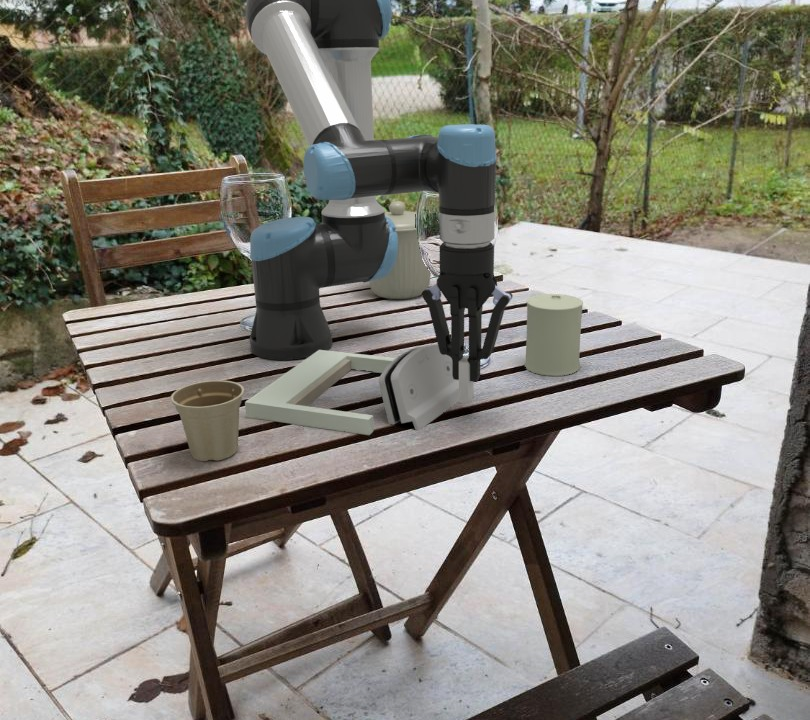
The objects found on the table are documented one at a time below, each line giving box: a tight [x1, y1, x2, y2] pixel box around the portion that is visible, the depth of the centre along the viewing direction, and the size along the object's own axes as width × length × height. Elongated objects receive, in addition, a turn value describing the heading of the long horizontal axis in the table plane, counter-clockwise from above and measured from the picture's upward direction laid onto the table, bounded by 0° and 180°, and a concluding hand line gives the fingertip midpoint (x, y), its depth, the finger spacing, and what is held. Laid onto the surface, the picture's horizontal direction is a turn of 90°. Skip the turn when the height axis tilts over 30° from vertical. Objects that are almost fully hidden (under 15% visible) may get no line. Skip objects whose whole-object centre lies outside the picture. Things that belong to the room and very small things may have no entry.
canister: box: [368, 200, 432, 300], centre depth 172 cm, size 18×18×21 cm
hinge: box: [378, 344, 459, 431], centre depth 115 cm, size 17×5×10 cm, turn 147°
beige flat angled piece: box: [244, 350, 397, 436], centre depth 120 cm, size 20×24×2 cm
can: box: [524, 293, 584, 377], centre depth 128 cm, size 9×9×12 cm
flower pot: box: [170, 379, 245, 462], centre depth 102 cm, size 9×9×9 cm
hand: (466, 399), depth 113 cm, fingers closed
